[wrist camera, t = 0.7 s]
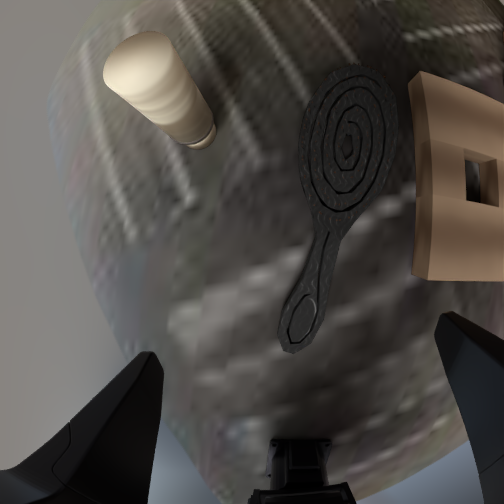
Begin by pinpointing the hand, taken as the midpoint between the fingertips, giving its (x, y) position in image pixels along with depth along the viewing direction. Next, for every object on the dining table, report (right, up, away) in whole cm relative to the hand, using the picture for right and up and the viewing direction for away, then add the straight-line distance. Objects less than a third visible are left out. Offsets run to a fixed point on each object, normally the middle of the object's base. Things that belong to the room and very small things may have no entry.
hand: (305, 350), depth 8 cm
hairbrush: (+5, +6, +15) cm, 17 cm away
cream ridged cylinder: (-6, +13, +15) cm, 21 cm away
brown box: (+19, +9, +13) cm, 25 cm away
